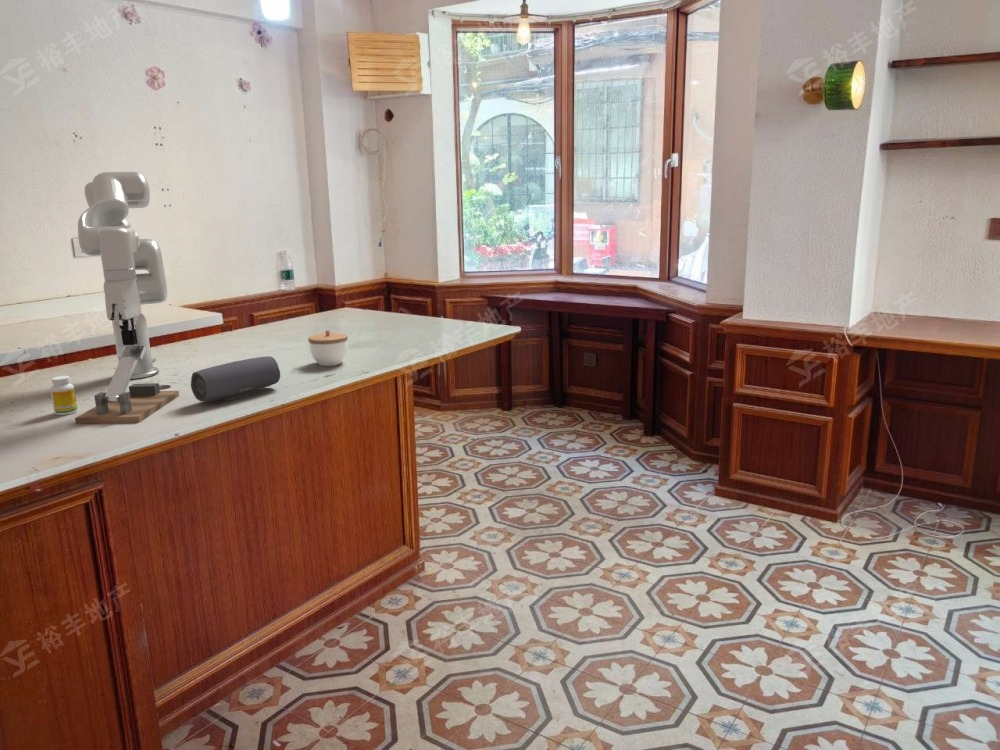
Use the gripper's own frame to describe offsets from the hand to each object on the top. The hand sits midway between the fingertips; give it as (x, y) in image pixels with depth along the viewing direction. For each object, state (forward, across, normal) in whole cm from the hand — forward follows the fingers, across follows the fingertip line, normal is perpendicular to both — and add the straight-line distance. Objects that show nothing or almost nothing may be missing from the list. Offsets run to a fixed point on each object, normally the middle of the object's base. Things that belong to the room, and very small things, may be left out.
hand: (130, 344), depth 197 cm
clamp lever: (+7, +5, 0) cm, 9 cm away
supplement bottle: (+17, +7, -16) cm, 24 cm away
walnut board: (+17, +5, 0) cm, 17 cm away
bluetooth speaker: (+17, -6, +25) cm, 31 cm away
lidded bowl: (+17, -43, +43) cm, 63 cm away
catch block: (+15, -4, 0) cm, 16 cm away
